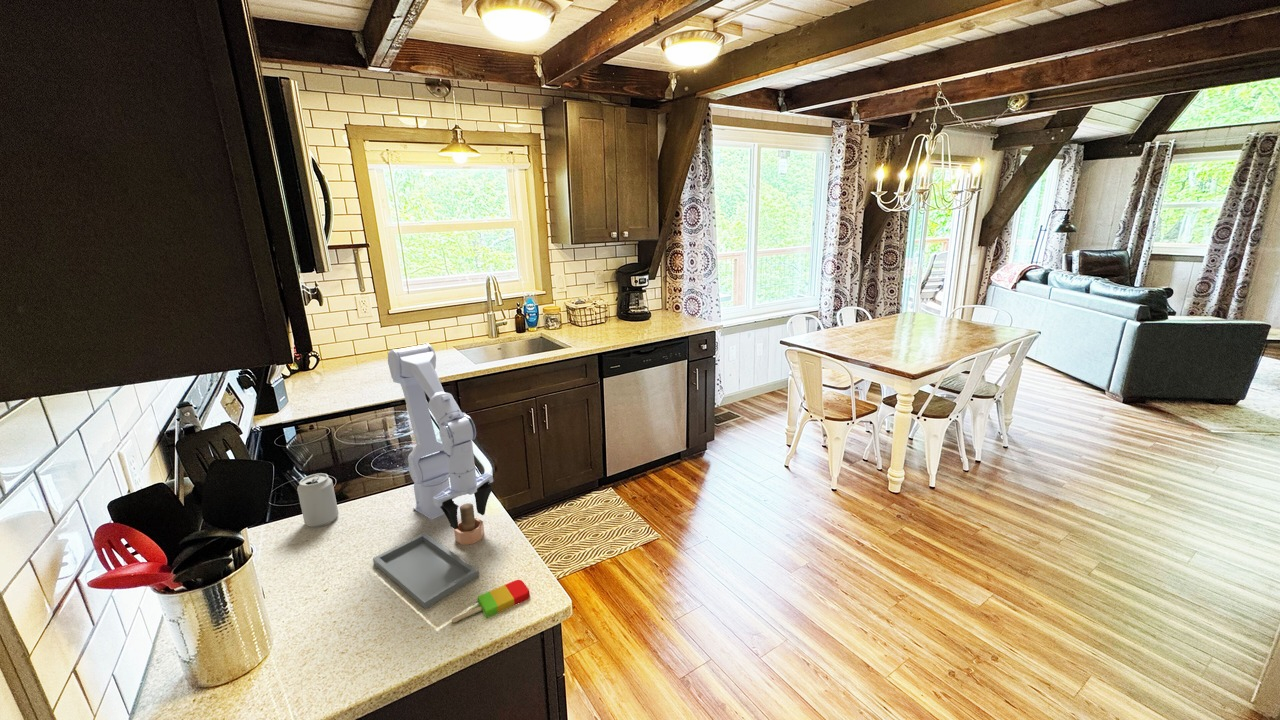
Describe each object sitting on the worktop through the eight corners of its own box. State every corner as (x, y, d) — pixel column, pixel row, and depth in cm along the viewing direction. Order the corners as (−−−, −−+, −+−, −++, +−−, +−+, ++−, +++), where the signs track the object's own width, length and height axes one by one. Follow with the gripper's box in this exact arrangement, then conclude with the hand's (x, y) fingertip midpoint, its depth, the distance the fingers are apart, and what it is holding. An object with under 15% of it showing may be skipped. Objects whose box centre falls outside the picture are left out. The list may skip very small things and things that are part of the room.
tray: (374, 566, 112) (372, 558, 111) (425, 539, 121) (424, 532, 120) (425, 611, 98) (424, 602, 98) (479, 578, 107) (478, 570, 107)
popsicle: (532, 599, 102) (531, 591, 101) (456, 634, 93) (455, 626, 93) (521, 584, 106) (520, 576, 105) (448, 616, 98) (447, 608, 97)
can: (298, 529, 125) (288, 486, 122) (316, 512, 133) (307, 471, 129) (328, 528, 126) (320, 485, 122) (344, 512, 133) (337, 470, 130)
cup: (451, 539, 120) (449, 526, 120) (474, 527, 125) (472, 515, 124) (466, 549, 117) (464, 536, 116) (488, 536, 121) (487, 523, 120)
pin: (460, 537, 121) (457, 507, 118) (471, 531, 123) (468, 502, 121) (468, 541, 119) (464, 511, 117) (479, 535, 121) (475, 506, 119)
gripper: (442, 486, 108) (449, 541, 112) (498, 461, 119) (503, 512, 123) (425, 476, 112) (432, 529, 116) (481, 453, 123) (486, 502, 127)
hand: (468, 520), depth 120 cm, fingers open, 7 cm apart
